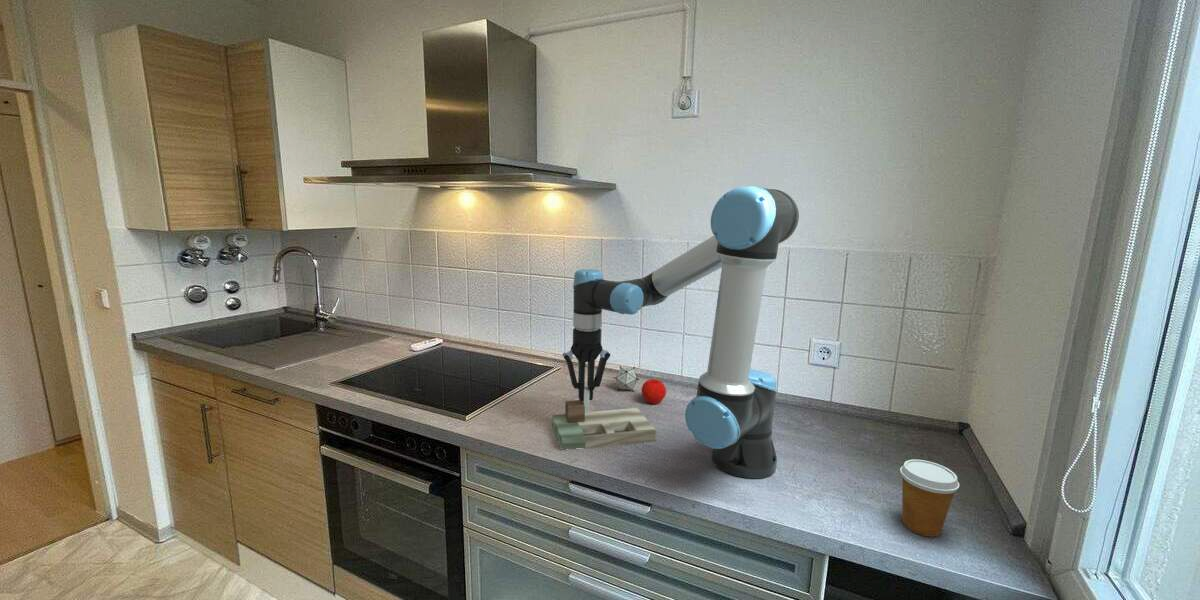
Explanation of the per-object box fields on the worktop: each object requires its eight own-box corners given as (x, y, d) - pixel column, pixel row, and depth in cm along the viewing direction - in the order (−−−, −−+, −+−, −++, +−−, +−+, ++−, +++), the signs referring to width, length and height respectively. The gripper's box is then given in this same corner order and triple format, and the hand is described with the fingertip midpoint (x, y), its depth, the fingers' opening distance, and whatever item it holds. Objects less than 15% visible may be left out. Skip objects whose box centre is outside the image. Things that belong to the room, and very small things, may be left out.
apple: (637, 398, 158) (638, 376, 156) (660, 396, 159) (661, 375, 158) (644, 408, 150) (645, 385, 149) (669, 406, 152) (670, 383, 150)
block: (584, 421, 132) (584, 406, 131) (568, 423, 131) (568, 407, 130) (581, 415, 136) (581, 399, 135) (565, 416, 135) (565, 401, 134)
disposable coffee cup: (955, 549, 90) (966, 489, 87) (895, 533, 94) (904, 476, 91) (944, 520, 98) (954, 465, 96) (890, 507, 102) (898, 454, 100)
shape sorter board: (655, 441, 129) (656, 430, 128) (562, 450, 122) (562, 439, 122) (636, 417, 143) (637, 407, 142) (551, 425, 136) (552, 415, 136)
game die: (627, 402, 163) (627, 386, 156) (608, 388, 168) (607, 371, 160) (644, 385, 168) (645, 368, 160) (625, 371, 172) (625, 354, 164)
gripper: (606, 323, 135) (604, 404, 139) (560, 325, 132) (559, 407, 136) (614, 330, 128) (611, 414, 132) (565, 332, 124) (564, 419, 129)
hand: (585, 411), depth 134 cm, fingers closed
